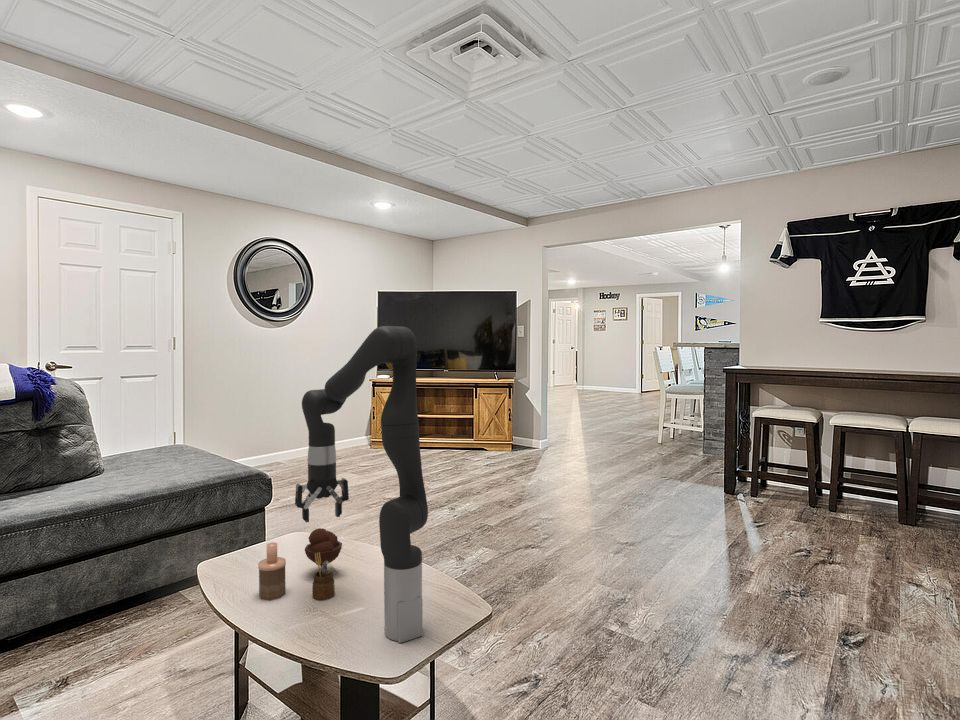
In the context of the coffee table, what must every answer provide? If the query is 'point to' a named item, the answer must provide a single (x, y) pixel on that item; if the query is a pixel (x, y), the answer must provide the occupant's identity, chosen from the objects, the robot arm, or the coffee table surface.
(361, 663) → the coffee table surface
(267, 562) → the lid
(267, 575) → the canister
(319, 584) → the utensil holder
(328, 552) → the ice cream bowl
